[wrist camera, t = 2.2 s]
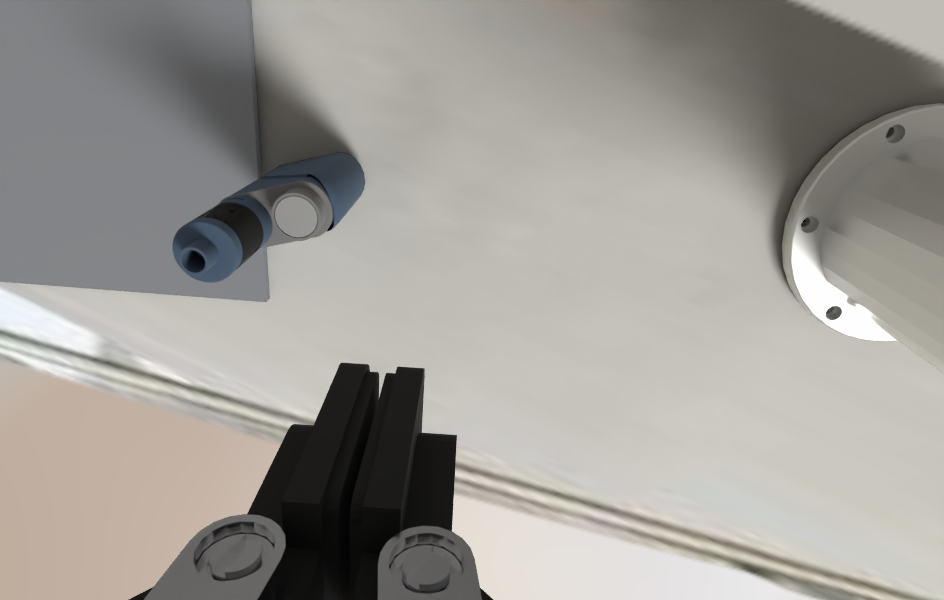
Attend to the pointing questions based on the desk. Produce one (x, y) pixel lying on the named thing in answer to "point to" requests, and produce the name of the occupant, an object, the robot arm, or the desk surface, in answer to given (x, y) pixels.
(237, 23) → the mat
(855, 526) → the desk surface
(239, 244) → the vaping device
